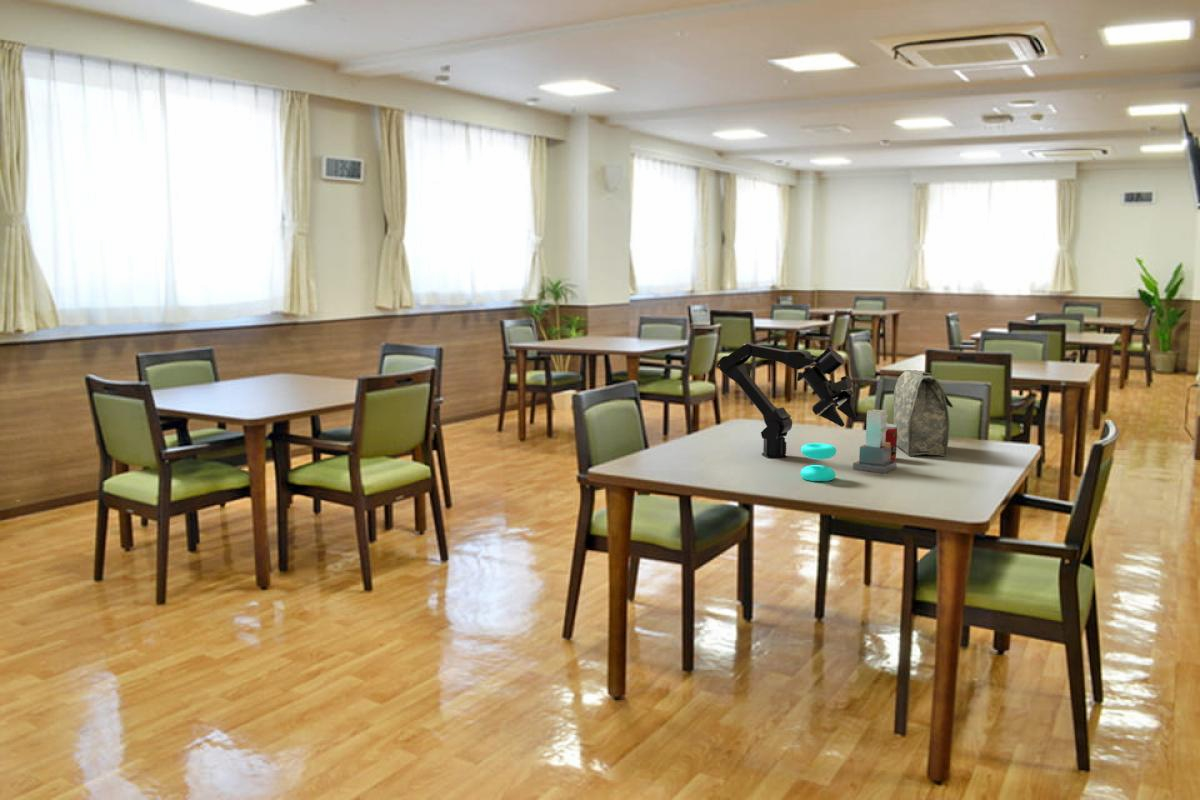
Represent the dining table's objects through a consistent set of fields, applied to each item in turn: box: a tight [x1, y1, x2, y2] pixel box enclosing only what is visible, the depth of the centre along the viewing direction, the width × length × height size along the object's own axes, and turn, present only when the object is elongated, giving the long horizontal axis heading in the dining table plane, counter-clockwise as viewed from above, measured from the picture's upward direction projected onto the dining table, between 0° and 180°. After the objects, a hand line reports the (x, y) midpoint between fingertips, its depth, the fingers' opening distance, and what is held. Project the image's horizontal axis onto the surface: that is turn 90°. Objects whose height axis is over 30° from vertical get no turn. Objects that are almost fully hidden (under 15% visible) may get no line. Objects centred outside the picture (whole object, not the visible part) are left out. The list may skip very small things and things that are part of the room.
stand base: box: [852, 442, 898, 474], centre depth 297 cm, size 10×10×8 cm
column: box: [865, 408, 889, 448], centre depth 296 cm, size 5×4×12 cm
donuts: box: [800, 442, 837, 482], centre depth 283 cm, size 10×10×10 cm
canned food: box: [885, 423, 898, 461], centre depth 313 cm, size 8×8×11 cm
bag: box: [893, 369, 954, 457], centre depth 326 cm, size 22×16×27 cm
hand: (849, 423), depth 302 cm, fingers open, 9 cm apart
